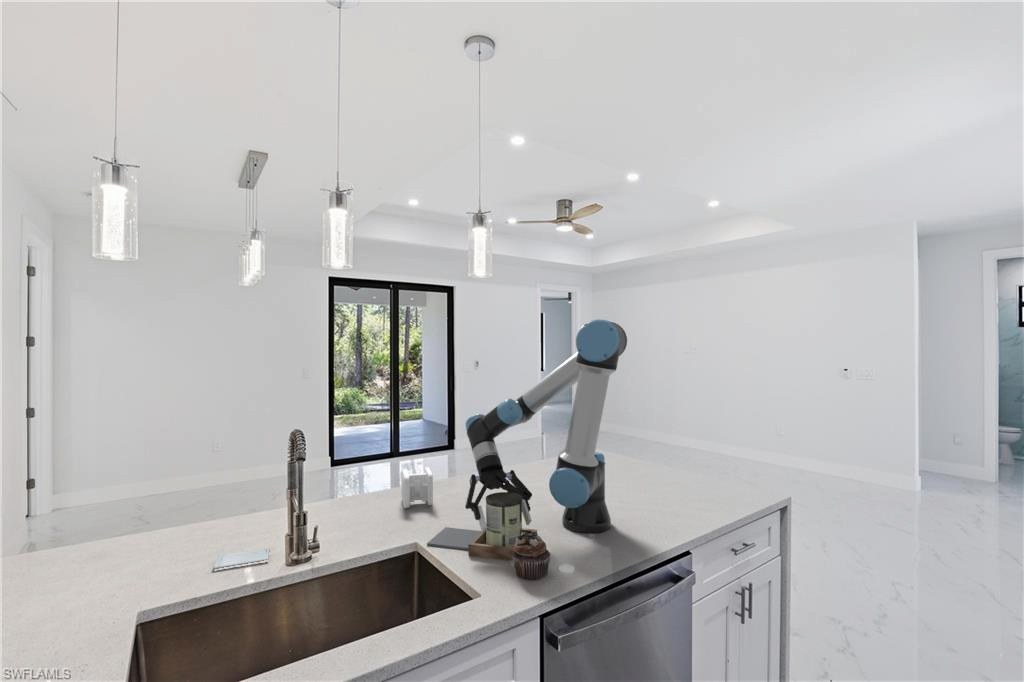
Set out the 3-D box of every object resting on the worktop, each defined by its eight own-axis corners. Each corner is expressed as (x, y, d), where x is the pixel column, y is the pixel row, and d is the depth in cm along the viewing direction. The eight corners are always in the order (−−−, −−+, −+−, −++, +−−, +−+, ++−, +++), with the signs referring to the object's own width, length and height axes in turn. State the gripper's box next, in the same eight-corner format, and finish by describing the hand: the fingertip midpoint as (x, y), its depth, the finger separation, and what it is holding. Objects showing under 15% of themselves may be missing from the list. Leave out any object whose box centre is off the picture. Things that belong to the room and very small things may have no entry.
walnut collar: (536, 540, 141) (536, 529, 141) (523, 562, 126) (523, 550, 126) (487, 534, 145) (486, 524, 145) (468, 555, 130) (468, 544, 130)
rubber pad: (485, 533, 146) (485, 531, 146) (469, 550, 134) (469, 548, 134) (445, 529, 150) (445, 527, 150) (427, 545, 137) (427, 543, 137)
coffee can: (499, 537, 143) (498, 489, 143) (529, 545, 137) (529, 495, 137) (478, 550, 134) (478, 498, 134) (509, 558, 128) (509, 505, 129)
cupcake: (548, 583, 114) (548, 541, 115) (508, 580, 116) (508, 538, 116) (552, 566, 124) (552, 526, 124) (515, 563, 126) (515, 524, 126)
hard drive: (270, 547, 134) (218, 554, 129) (268, 558, 126) (213, 567, 121) (270, 553, 134) (217, 560, 129) (268, 565, 126) (213, 573, 121)
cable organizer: (433, 508, 169) (433, 475, 169) (402, 511, 166) (402, 477, 167) (428, 496, 184) (428, 465, 184) (400, 498, 181) (400, 467, 181)
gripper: (520, 463, 155) (542, 526, 141) (445, 471, 145) (461, 539, 131) (527, 449, 150) (551, 513, 136) (450, 457, 140) (467, 526, 126)
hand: (507, 526), depth 134 cm, fingers open, 13 cm apart
